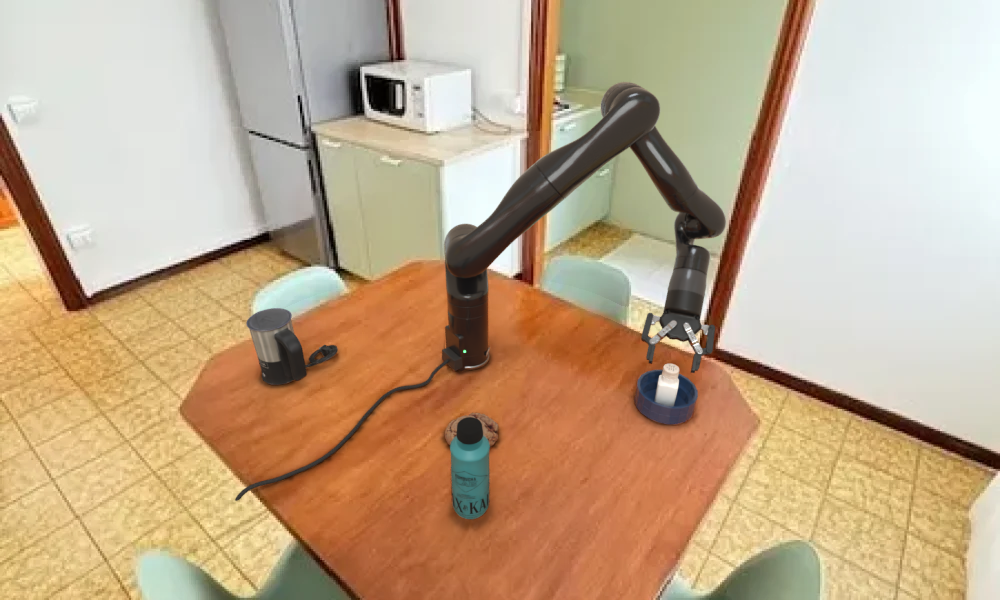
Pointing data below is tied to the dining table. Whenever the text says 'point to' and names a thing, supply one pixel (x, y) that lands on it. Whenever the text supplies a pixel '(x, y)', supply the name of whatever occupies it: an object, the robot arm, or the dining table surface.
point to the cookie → (487, 424)
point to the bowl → (665, 413)
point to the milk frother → (281, 347)
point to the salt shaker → (667, 385)
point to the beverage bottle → (470, 469)
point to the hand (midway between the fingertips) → (671, 367)
